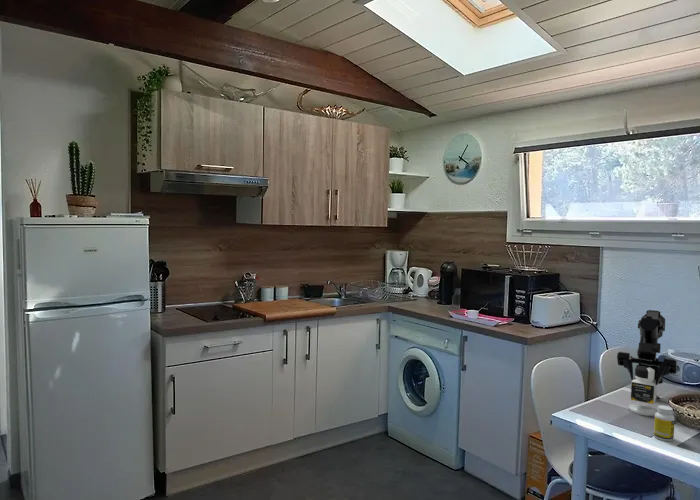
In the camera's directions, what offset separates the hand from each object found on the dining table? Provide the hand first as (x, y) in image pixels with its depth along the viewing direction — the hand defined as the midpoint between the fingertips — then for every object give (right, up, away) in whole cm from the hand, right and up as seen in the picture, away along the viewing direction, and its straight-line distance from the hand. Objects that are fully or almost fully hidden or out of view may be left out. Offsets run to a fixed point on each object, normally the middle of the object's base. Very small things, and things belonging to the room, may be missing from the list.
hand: (644, 382), depth 181 cm
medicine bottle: (0, -7, +1) cm, 7 cm away
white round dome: (0, -11, +1) cm, 11 cm away
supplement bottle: (-7, -12, -22) cm, 26 cm away
